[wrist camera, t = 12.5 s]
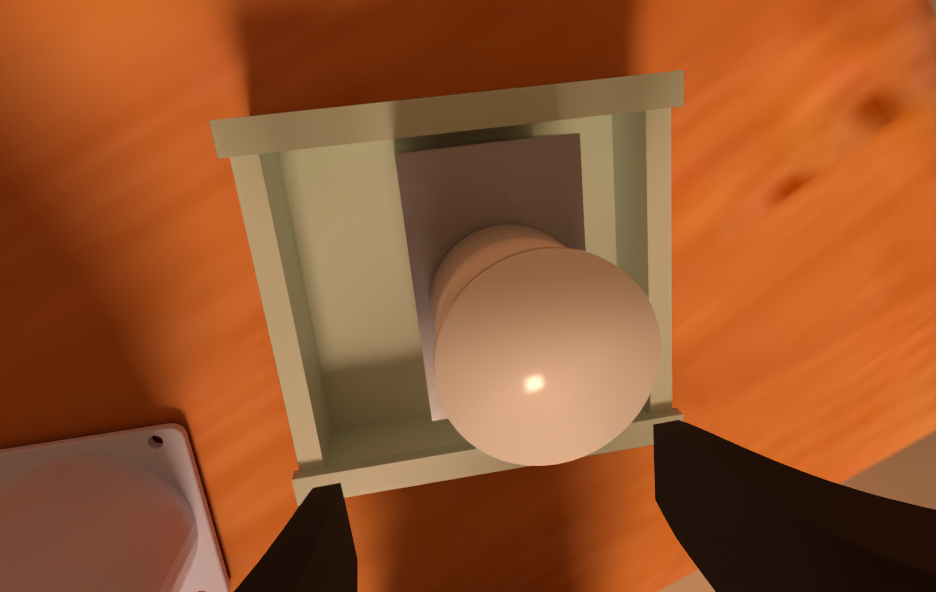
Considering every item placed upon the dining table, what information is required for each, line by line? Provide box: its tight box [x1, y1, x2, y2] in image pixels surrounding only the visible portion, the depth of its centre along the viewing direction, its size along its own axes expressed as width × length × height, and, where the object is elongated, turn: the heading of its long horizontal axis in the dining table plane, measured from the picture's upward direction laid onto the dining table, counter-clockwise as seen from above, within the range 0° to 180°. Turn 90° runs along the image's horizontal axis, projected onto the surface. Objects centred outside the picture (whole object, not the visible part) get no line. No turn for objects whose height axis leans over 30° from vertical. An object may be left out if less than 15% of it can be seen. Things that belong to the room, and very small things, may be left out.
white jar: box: [430, 224, 661, 466], centre depth 13 cm, size 5×5×4 cm
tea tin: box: [394, 133, 586, 421], centre depth 18 cm, size 5×8×5 cm, turn 6°
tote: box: [209, 70, 684, 506], centre depth 19 cm, size 13×12×4 cm
